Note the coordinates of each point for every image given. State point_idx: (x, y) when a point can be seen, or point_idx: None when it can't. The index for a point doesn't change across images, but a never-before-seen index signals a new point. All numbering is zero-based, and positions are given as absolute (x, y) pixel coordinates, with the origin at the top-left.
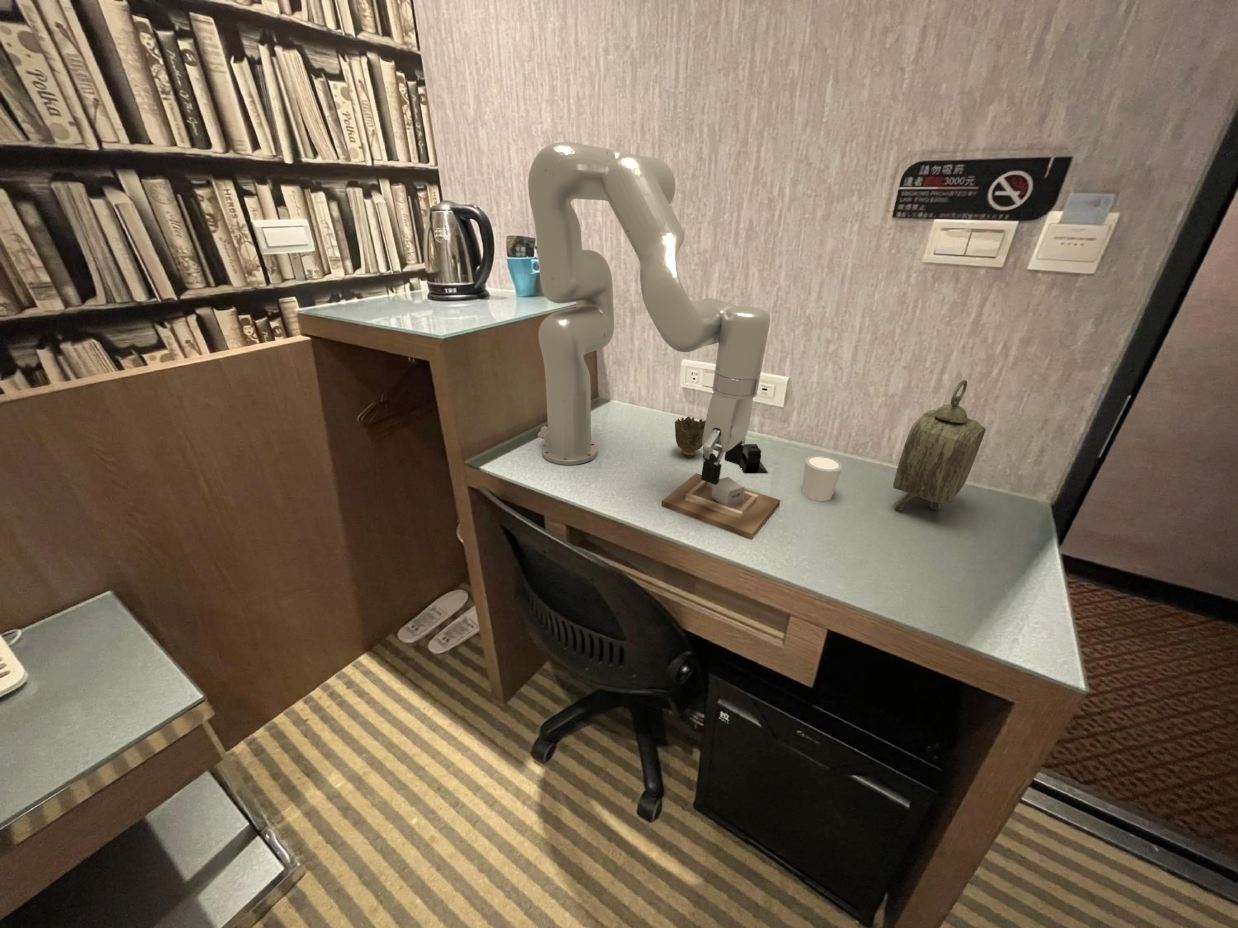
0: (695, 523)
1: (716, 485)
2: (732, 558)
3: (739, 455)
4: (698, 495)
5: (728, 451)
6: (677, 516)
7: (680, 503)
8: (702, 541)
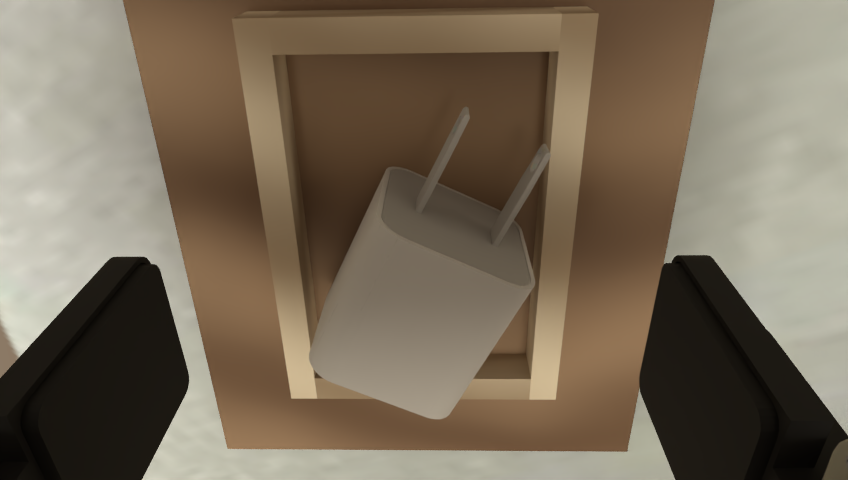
0: (139, 170)
1: (361, 251)
2: None
3: (670, 461)
4: (373, 63)
5: (703, 359)
6: (108, 38)
7: (177, 7)
8: (37, 273)
